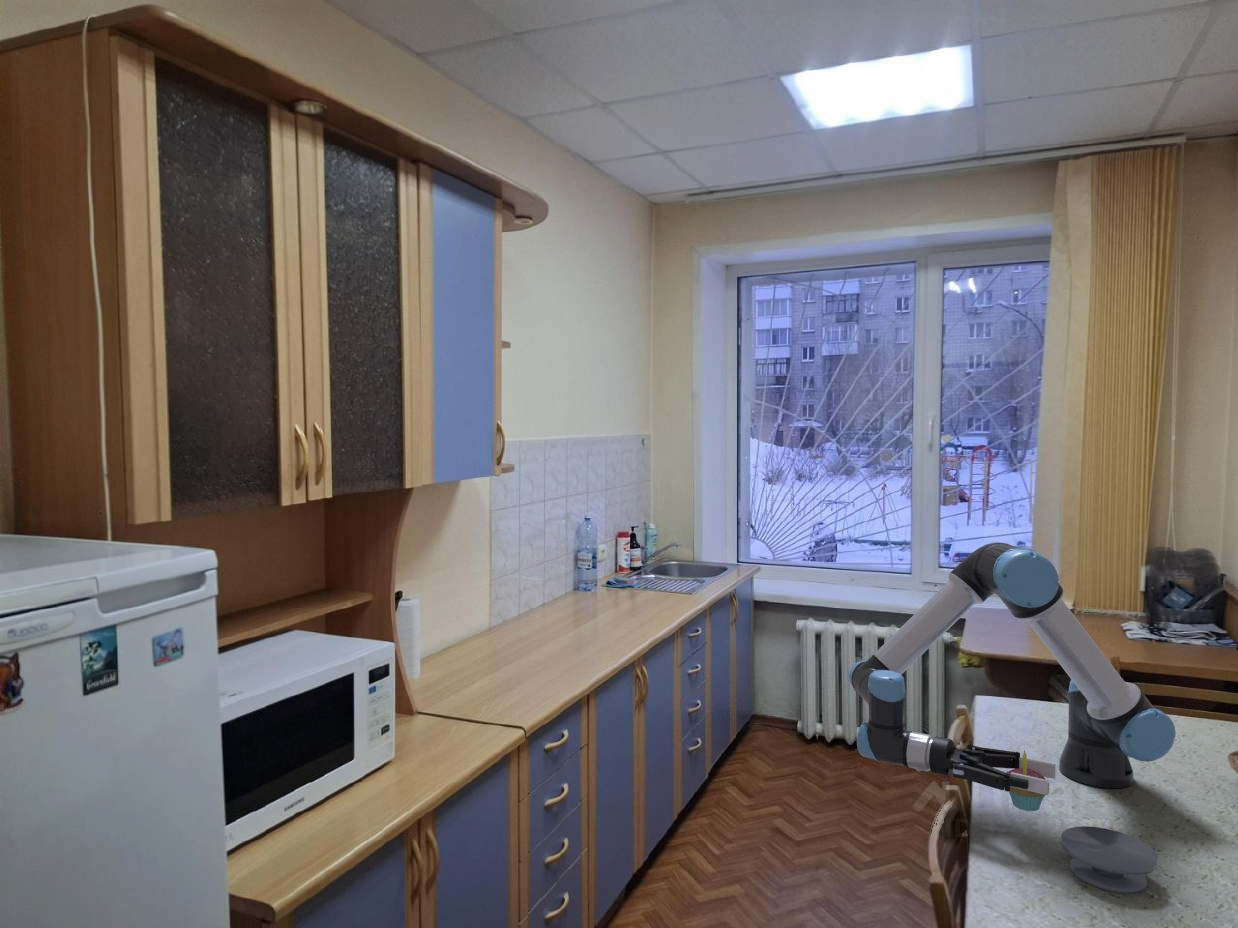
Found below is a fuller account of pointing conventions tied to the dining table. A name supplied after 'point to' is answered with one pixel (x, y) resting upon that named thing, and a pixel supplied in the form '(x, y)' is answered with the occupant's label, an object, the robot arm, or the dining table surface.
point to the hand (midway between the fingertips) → (1051, 779)
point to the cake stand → (1109, 859)
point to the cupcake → (1023, 797)
